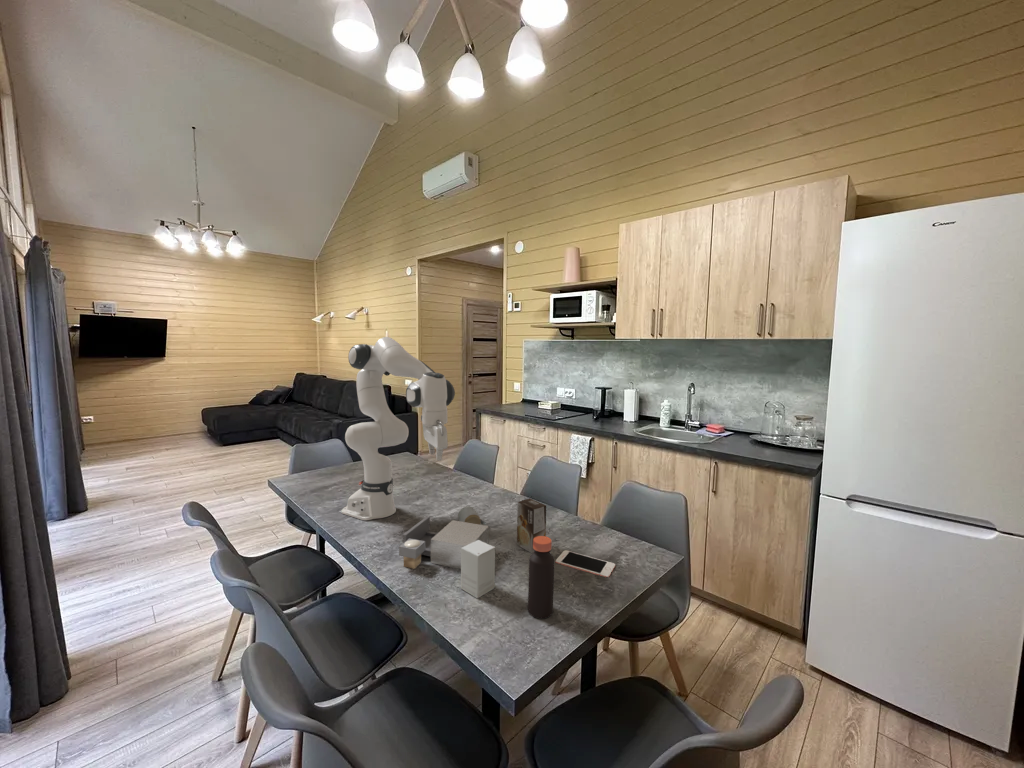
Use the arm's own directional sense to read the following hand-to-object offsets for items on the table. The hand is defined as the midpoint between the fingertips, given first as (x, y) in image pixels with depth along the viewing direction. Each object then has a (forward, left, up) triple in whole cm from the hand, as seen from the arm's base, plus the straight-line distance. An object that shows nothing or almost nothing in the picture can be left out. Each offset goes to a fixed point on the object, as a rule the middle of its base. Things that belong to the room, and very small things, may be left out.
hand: (435, 457), depth 147 cm
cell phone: (+54, +4, -32) cm, 63 cm away
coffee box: (+34, +9, -32) cm, 47 cm away
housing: (+13, -5, -32) cm, 34 cm away
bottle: (+46, -25, -32) cm, 61 cm away
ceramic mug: (+8, +16, -32) cm, 36 cm away
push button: (+1, -16, -28) cm, 32 cm away
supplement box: (+26, -21, -32) cm, 46 cm away
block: (+1, -16, -32) cm, 35 cm away
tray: (+2, -5, -31) cm, 32 cm away
